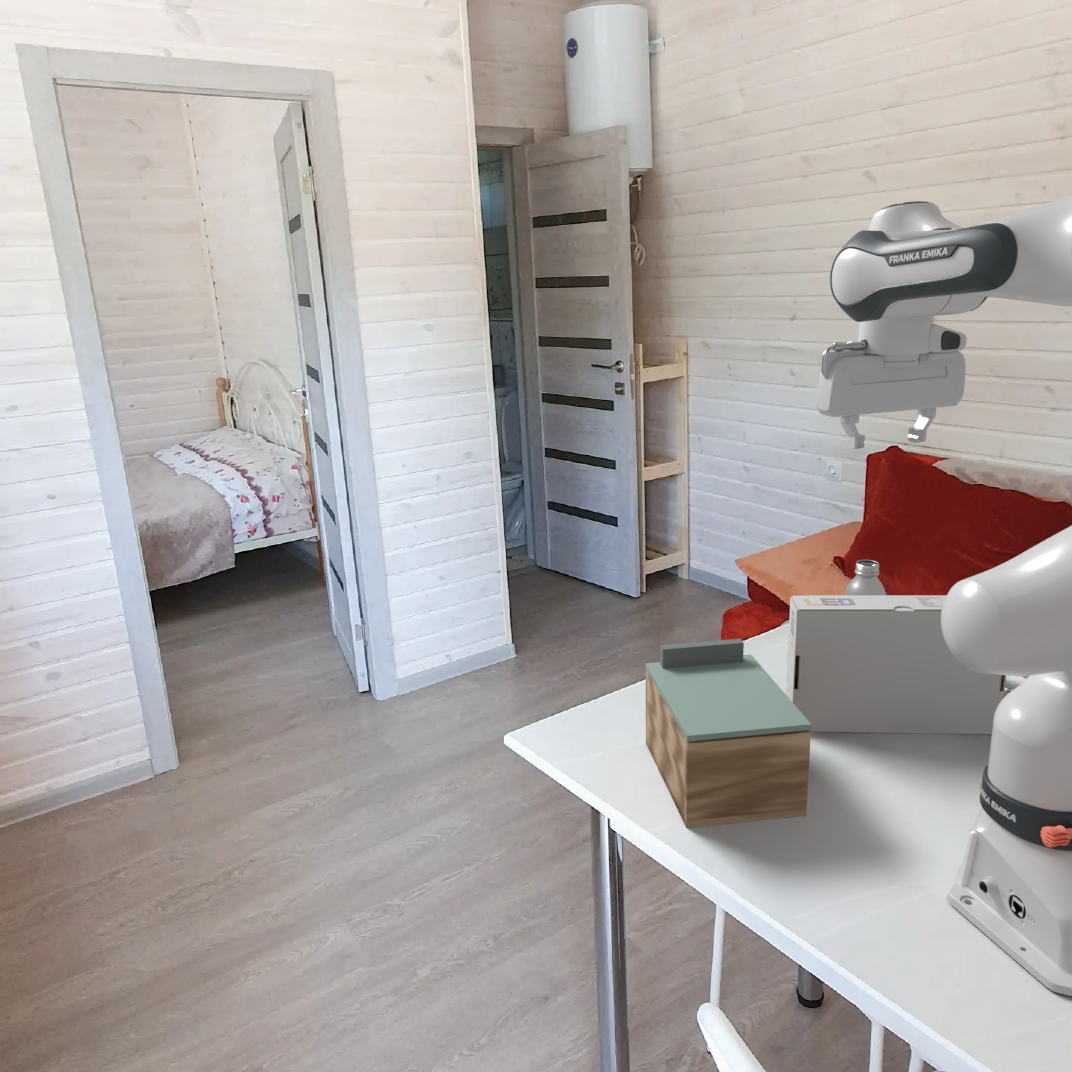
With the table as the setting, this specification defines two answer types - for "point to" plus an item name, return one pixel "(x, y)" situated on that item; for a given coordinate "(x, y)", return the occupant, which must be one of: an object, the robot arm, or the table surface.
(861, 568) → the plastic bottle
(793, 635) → the packaging
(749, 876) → the table surface
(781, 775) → the wooden box
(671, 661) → the lid
